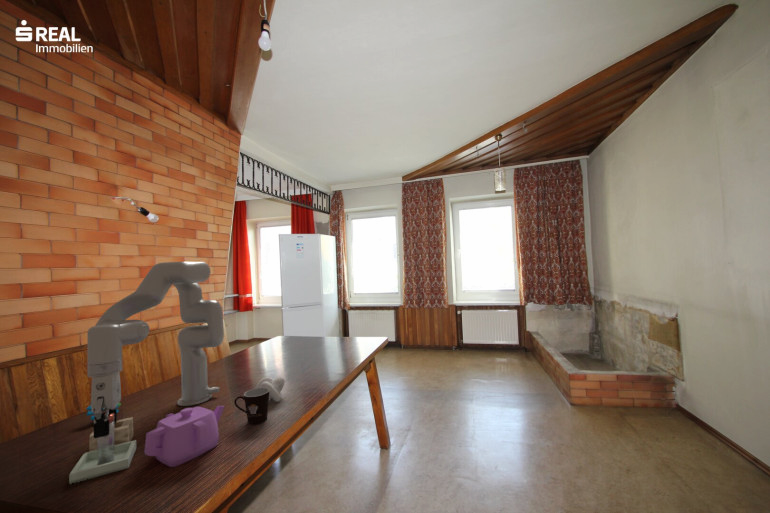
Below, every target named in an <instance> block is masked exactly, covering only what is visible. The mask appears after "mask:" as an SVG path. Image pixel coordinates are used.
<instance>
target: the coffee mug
mask: <svg viewBox="0 0 770 513" xmlns="http://www.w3.org/2000/svg"><path fill="white" fill-rule="evenodd" d="M255 388H256V387H255ZM255 388H251V389H249V390H247V391H245V392H244V393H243V396H242V395H240V396H236V398H235V399H234V406H235V407H236V408H237V409H238V410H240V411H242V412H243V413H245V414H246V419H247V424H248V425H251V426H256V425H260V424H263V423H265V422H266V421H267V420H268V415H269V414H268V412H269V402H270V401H269V391H270V390H269V389H268V388H256V389H255ZM238 399H242V400H243V401H244V405H245V409H243V408H242V407H241V406H239V405H238V403H237V401H238Z"/></svg>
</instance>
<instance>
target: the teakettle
mask: <svg viewBox="0 0 770 513" xmlns="http://www.w3.org/2000/svg"><path fill="white" fill-rule="evenodd" d="M224 408H225V405H217V406H216V408H215V409H214V410H211V409H208V408H206V407H202V406H200V405H199V406H194V407H186V408H184V409H181V410H180V411H179V412H177V413H175V414H174V413H172V412H171V413H169V414H166V415H165V418H162V419H161V420H159V421H157V425H156V428H155V429H153V430H150V431H148V432H146V434H145V442H144V443H145V445H144V452H143V453H144V454H145V455H146V456H150V457H155V459H156V460H157V461H159V462H160V463H162V464H163V465H166V466H168V467H169V468H175V467H178V466H181V465H183V464H185V463H186V462H189V461H191V460H193V459H195V458H197V457H199V456H201V455H203V454H205V453H207V452H208V451H210V450H211V451H212V449H214V448H215V447H217V445H218V442H219V437H220V435H219V426H218V425H219V422H220V419H221V417H222V414H223V412H224Z"/></svg>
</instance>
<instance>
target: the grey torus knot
mask: <svg viewBox="0 0 770 513" xmlns="http://www.w3.org/2000/svg"><path fill="white" fill-rule="evenodd" d="M285 382H286V381H285V378H283V377H282V376H281V377H280V376H279V377H277V378H276V379H275V380H274V379H273V378H271V377H267V376H266V377H263V378H261V379H260V380H259V381H258V383H257V384H256V387H255V388H254V389H256V388H268V389H269V390H270V391H269V402H270V401H271V400H272V401H274V402H275V403H279V402H281V401H282V399H283V396H282V393H281V391H282V390H283V388H284V386H285Z"/></svg>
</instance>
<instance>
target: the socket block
mask: <svg viewBox="0 0 770 513" xmlns="http://www.w3.org/2000/svg"><path fill="white" fill-rule="evenodd" d="M133 436H134V416H132V417H127V418H122V419H119V420H117V422H116V423H115V424H114V445H118V444H122V443H126V442H130V441H132V439H133ZM88 441H89V444H88V445H89V446H88V450H89V451H88V452H90V451H94V450H98V438H94V430H92V432H91V433H90V435H89V440H88Z"/></svg>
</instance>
